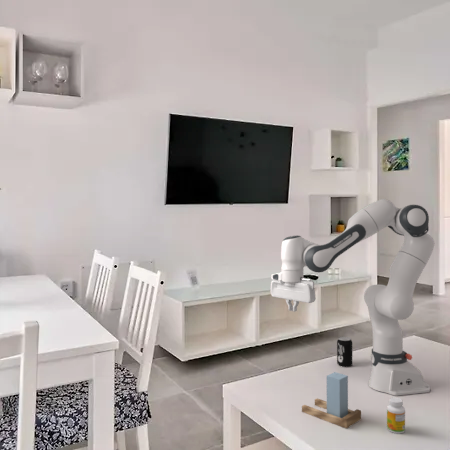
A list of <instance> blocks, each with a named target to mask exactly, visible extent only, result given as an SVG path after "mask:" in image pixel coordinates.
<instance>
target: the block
mask: <svg viewBox="0 0 450 450" xmlns="http://www.w3.org/2000/svg"><path fill="white" fill-rule="evenodd" d="M326 402H327V409H326V413H329V414H331V415H334V416H337V417H340V418H343V417H345V416H346V415H348V409H349V376H348V374H347V375H346V374H343V373H339V372H336V371H333V372H332V373H330V374H327V375H326Z"/></svg>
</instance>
